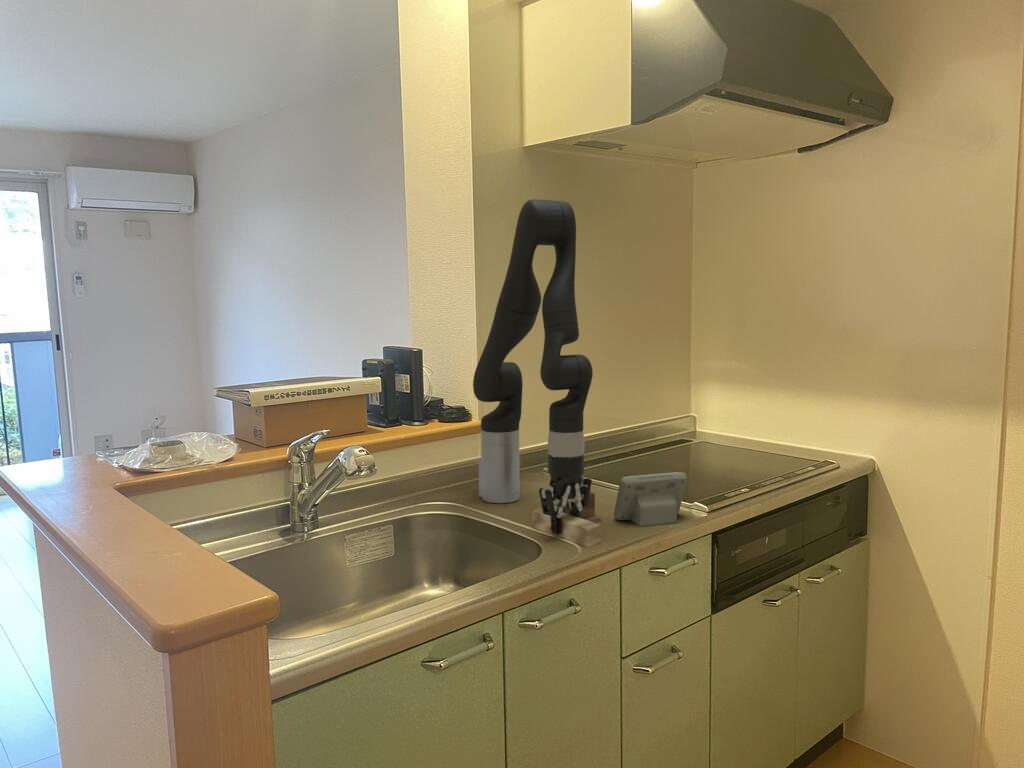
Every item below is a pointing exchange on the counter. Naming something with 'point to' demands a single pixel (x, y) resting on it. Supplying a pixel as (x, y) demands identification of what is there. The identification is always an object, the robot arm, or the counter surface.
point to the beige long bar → (570, 528)
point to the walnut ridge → (585, 509)
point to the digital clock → (650, 498)
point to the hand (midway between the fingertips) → (565, 530)
